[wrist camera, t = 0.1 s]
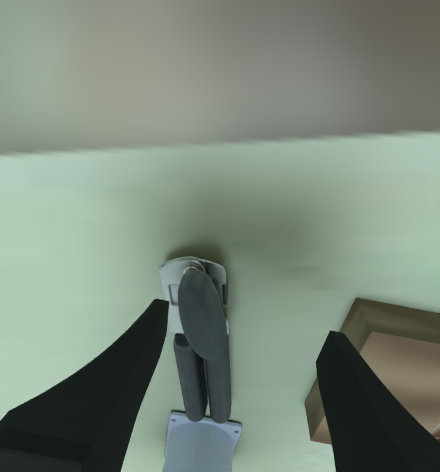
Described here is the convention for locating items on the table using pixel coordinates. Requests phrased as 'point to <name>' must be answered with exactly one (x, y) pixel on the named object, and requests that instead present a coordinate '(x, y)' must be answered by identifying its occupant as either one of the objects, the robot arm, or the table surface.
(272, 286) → the table surface
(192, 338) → the can opener
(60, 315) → the table surface
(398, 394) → the walnut block
